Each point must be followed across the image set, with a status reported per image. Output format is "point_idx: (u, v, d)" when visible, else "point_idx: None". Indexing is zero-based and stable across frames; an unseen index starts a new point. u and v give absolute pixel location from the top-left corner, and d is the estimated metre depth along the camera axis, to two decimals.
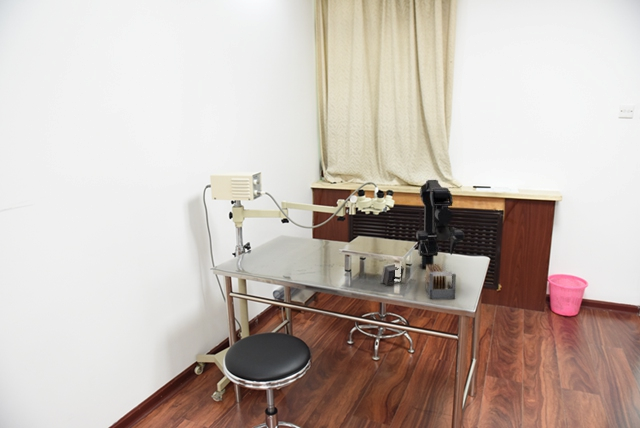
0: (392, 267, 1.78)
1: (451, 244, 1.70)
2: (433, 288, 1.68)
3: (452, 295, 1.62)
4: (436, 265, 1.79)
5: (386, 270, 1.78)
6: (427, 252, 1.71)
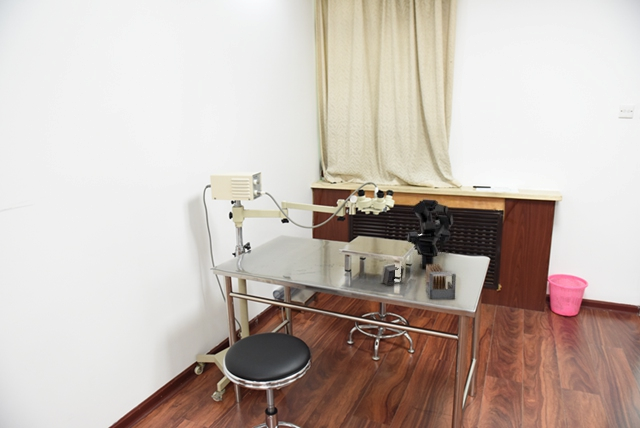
0: (392, 267, 1.78)
1: (440, 244, 1.85)
2: (433, 288, 1.68)
3: (452, 295, 1.62)
4: (436, 265, 1.79)
5: (386, 270, 1.78)
6: (419, 250, 1.84)
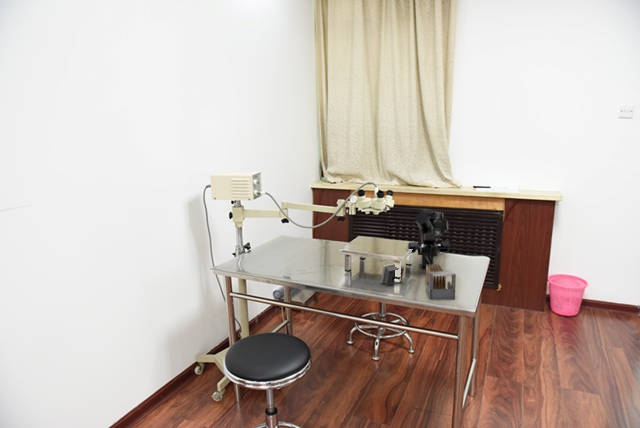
0: (392, 267, 1.78)
1: (430, 255, 1.86)
2: (433, 288, 1.68)
3: (452, 295, 1.62)
4: (436, 265, 1.79)
5: (386, 270, 1.78)
6: (428, 261, 1.84)
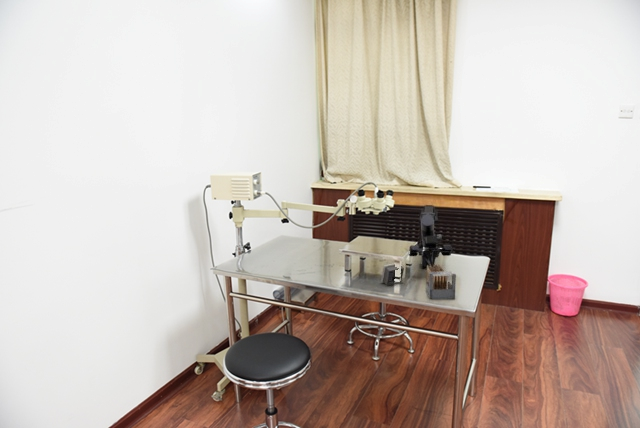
0: (392, 267, 1.78)
1: (432, 259, 1.82)
2: None
3: (452, 295, 1.62)
4: (437, 266, 1.77)
5: (386, 270, 1.78)
6: (430, 264, 1.80)
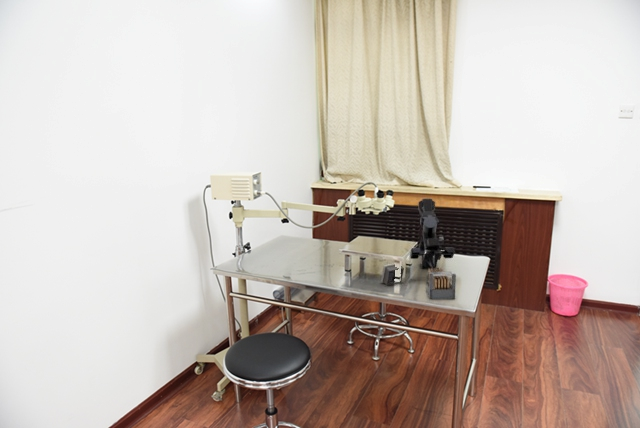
0: (392, 267, 1.78)
1: (434, 261, 1.79)
2: None
3: (452, 295, 1.62)
4: (439, 269, 1.74)
5: (386, 270, 1.78)
6: (432, 267, 1.77)
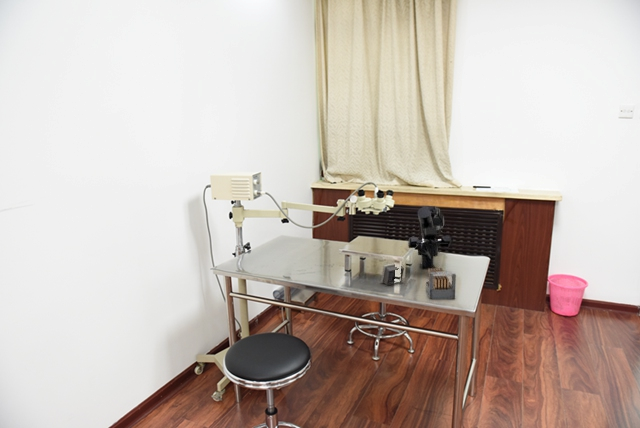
0: (392, 267, 1.78)
1: (431, 250, 1.85)
2: None
3: (452, 295, 1.62)
4: (439, 269, 1.74)
5: (386, 270, 1.78)
6: (429, 256, 1.83)
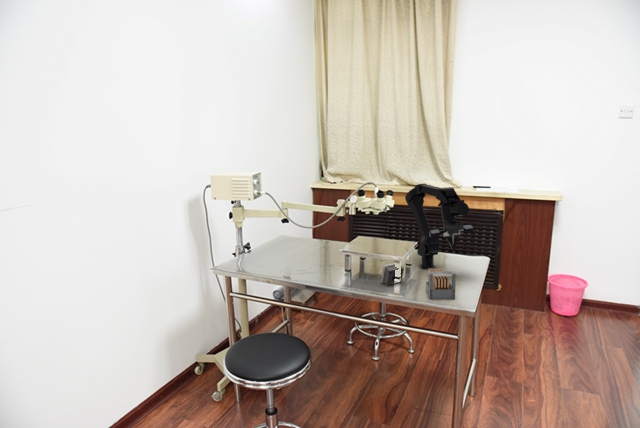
0: (392, 267, 1.78)
1: (453, 240, 1.82)
2: None
3: (452, 295, 1.62)
4: (439, 269, 1.74)
5: (386, 270, 1.78)
6: (451, 247, 1.82)
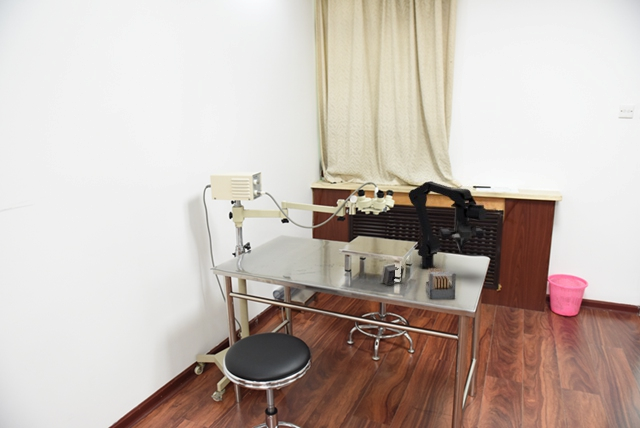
0: (392, 267, 1.78)
1: (461, 242, 1.83)
2: None
3: (452, 295, 1.62)
4: (439, 269, 1.74)
5: (386, 270, 1.78)
6: (459, 248, 1.83)
